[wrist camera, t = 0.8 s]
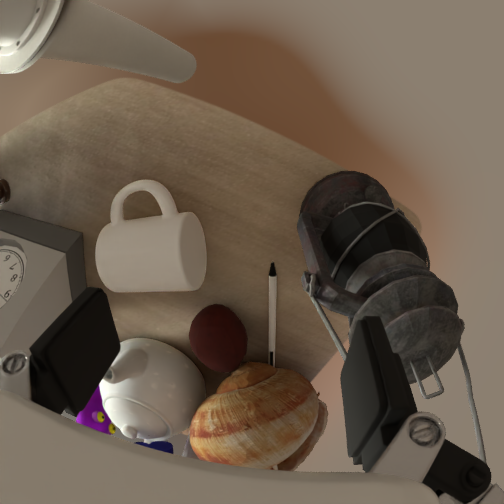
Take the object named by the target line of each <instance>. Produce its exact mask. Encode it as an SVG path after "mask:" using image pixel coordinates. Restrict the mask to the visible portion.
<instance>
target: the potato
mask: <svg viewBox="0 0 504 504" xmlns="http://www.w3.org/2000/svg"><path fill="white" fill-rule="evenodd" d="M189 339H190V344H191V348H192V350H193V352H194V354H195V355H196V357H197V358H198V359H199V360H200V361H201V362H202V363H203V364H204V365H205V366H207V367H208V368H210V369H212V370H215V371H219V372H222V373H225V372H232V371H233V370H235V369H237V368H238V366H239V365H240V363H241V362H242V360H243V358H244V356H245V354H246V352H247V341H248V338H247V334H246V330H245V327H244V325H243V323H242V322H241V320H240V319H239V317H238V316H237V315H236V314H235V313H234V312H233V311H232V310H231V309H229V308H228V307H226V306H223V305H220V304H213V305H209V306H207V307H205V308H204V309H202V310H201V311H200V312H199V313H198V314H197V315H196V317H195V318H194V320H193V321H192V324H191V327H190V332H189Z"/></svg>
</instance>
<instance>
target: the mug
mask: <svg viewBox="0 0 504 504" xmlns="http://www.w3.org/2000/svg"><path fill="white" fill-rule="evenodd" d="M140 190H145V191H148V192H150V193H151V194H152V195H153V196H154V197H155V199H156V200H157V202H158V204H159V206H160V208H161V211H162V214H163V215H160V216H153V217H145V218H138V219H131V220H125V219H124V215H123V204H124V201H125V199H126V197H127V196H128V195H130V194H131V193H133V192H136V191H140ZM95 260H96V266H97V270H98V273H99V276H100V278H101V280H102V282H103V283H104V285H105V286H106V287H107V288H108V289H110V290H111V291H113V292H166V291H195V290H198V289H199V288H200V287H201V285H202V284H203V281H204V278H205V274H206V265H207V251H206V242H205V236H204V232H203V229H202V226H201V223H200V221H199V219H198V218H197V216H196V215H195V214H194V213H192V212H183V213H178V211H177V208H176V205H175V202H174V200H173V198H172V196H171V194H170V193H169V191H168V190H167V189H166V188H165V187H164V186H163V185H162V184H160V183H159V182H157V181H153V180H139V181H135V182H132V183H130V184H128V185H126V186H125V187H124V188H122V189H121V190H120V191H119V192H118V193H117V195H116V196H115V198H114V200H113V203H112V206H111V223H109V224H107V225H106V226H105V227H104V228H103V229H102V230H101V232H100V234H99V236H98V239H97V243H96V249H95Z"/></svg>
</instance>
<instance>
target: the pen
mask: <svg viewBox="0 0 504 504" xmlns="http://www.w3.org/2000/svg"><path fill="white" fill-rule="evenodd" d="M276 284H277V274H276V270H275V266H274V262H273V261H272V263H271V267H270V272H269V358H268V364H269V365H271V366H273V367H275V338H276Z"/></svg>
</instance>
